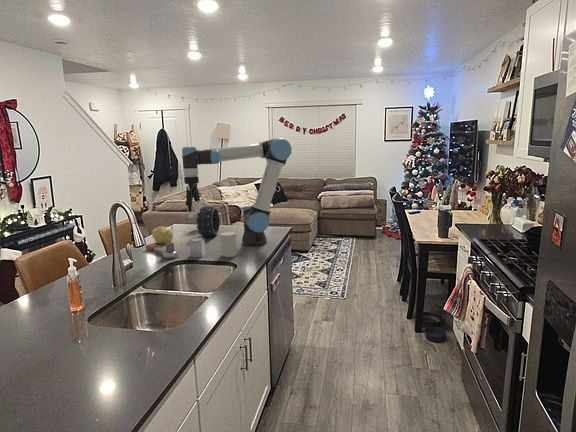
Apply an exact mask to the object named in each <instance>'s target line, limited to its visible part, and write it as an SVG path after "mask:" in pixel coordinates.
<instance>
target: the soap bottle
mask: <svg viewBox="0 0 576 432" xmlns="http://www.w3.org/2000/svg"><path fill="white" fill-rule="evenodd" d="M200 196H201V198H200V201H199V209H200V208H202V207H205V206H212V205H211V204H210V203H209V202H207V198H206V197H205V196H206V194H201V195H200ZM195 216H196V217H197V213H195Z"/></svg>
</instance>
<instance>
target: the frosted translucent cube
mask: <svg viewBox="0 0 576 432" xmlns="http://www.w3.org/2000/svg"><path fill="white" fill-rule="evenodd" d="M205 245H206V244H205V238H204V237H194V238H193V237H192V238H191V239H190V240H189V252H190V254H189V255H190V258H203V257H204V256H205V254H206V246H205Z"/></svg>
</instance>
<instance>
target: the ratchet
mask: <svg viewBox="0 0 576 432" xmlns="http://www.w3.org/2000/svg"><path fill="white" fill-rule="evenodd" d="M164 245H165V248H164V247H161V246H160V245H159V244H155V243H149V244H146V245H145V249H146V251H148V252H151V253H153V254H157V255H158V256H159V255H160V256H161V257H162V258H163V259H164V260H174V259H177V258H179V251H178V250H177V249H175V243H174V242H172V241H170V242H168V243H165V244H164Z"/></svg>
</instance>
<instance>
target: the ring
mask: <svg viewBox="0 0 576 432" xmlns="http://www.w3.org/2000/svg"><path fill="white" fill-rule="evenodd" d="M219 213H220V212H219V210H218V208H216V207H215V206H212V205H211V206H205V207H202V208H200V213H197V216H196V217H197V218H196V219H195V220H196V223H197V225H196V228H197V230H198V231H197V233H199V234H200V235H201V236H202V237H214V236H215V235H217V234H218V233H219V231H220V226H221V225H220V214H219Z"/></svg>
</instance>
